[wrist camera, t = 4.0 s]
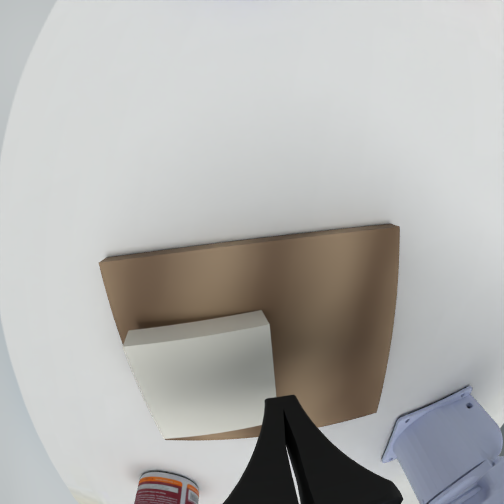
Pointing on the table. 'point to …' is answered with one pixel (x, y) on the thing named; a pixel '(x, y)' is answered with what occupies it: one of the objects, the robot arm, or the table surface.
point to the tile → (204, 373)
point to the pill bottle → (166, 489)
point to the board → (280, 308)
